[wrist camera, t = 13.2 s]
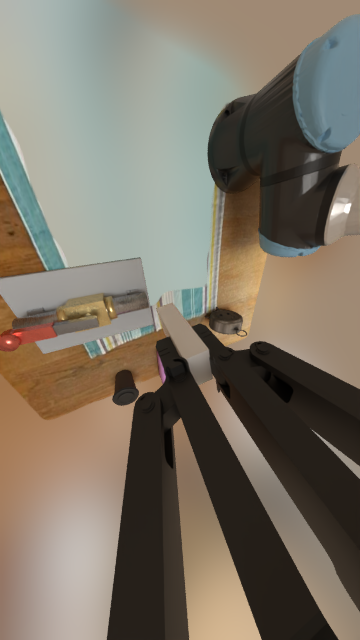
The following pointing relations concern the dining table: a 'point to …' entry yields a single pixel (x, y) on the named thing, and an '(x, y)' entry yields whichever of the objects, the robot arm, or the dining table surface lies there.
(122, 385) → the coffee cup
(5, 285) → the mount board
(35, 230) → the dining table surface
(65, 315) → the valve body
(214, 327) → the alarm clock
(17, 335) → the lever
